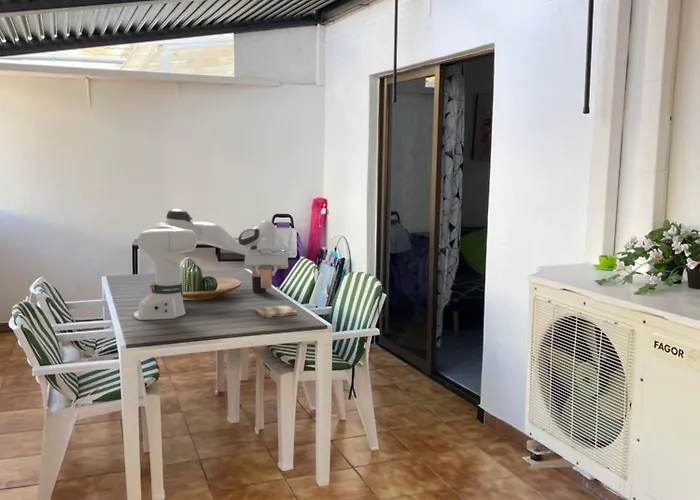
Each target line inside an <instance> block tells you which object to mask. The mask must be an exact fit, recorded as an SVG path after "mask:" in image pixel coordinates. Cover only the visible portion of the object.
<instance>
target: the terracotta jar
mask: <svg viewBox="0 0 700 500" xmlns="http://www.w3.org/2000/svg"><path fill="white" fill-rule="evenodd" d="M271 268H272V266H271V265H262V266H261V288H266V289H271V288H272V284H273V283H272V282H273V281H272V276H271V271H272V269H271Z"/></svg>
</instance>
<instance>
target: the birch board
mask: <svg viewBox="0 0 700 500" xmlns="http://www.w3.org/2000/svg"><path fill="white" fill-rule="evenodd" d="M255 312H256V313H257V314H258V315H259V316H260V315H261V316H260V317H262V318H263V317H267V318H273V317H272V316H278V317H284V316H283V315H290V316H296V315H295V314H297V315H298V311H297V310H296V309H294V308H292V307H291V306H290V305H278V306H277V305H276V306H268V307H267V306H266V307H256V308H255Z"/></svg>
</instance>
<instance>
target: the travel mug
mask: <svg viewBox="0 0 700 500" xmlns="http://www.w3.org/2000/svg"><path fill="white" fill-rule="evenodd" d="M259 271H261V269H259ZM251 283H252V285H251V286H252V292H253V294H254V293H256V294H262V293H267V288H261V276H258V273H257V271H256V269H251Z"/></svg>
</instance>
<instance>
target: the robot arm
mask: <svg viewBox="0 0 700 500" xmlns="http://www.w3.org/2000/svg"><path fill="white" fill-rule="evenodd" d="M165 217H166V221H165V222H164V221H159V222H155V223H154V224H153V225H152V226H151V228H150V229H147V230H144V231H141V232H140V233H139V235H138V237H137V242H136V243H137V246H138V249H139V250H140V251H141V252H142V254H145V255H146V256H147V257H148V258H149V259H150V261H151V262H152V264H153V266H154V273H155V274H154V275H155V283H150V284H149V289H150V290H151V292H150V293H149V294H148V295H147V296H145V297H144V298H143V299H141V300H140V302H139V305H138V306H139V307H138V310H137V311H135V312H134V313H133V317H134V319H136V320H138V321H139V320H140V321H145V320H146V321H147V320H172V319H176V318H178V317H181V316H184V315H186V313H187V312H186V309H185V306H184V299H183V293H184V290H183V288H184V287H183V282H182V267H181V265H180V264H179V263H178V262H176V261H174V260H171V259H169V258H168V256H167V255H168V254H184V253H188V252H193V251H194V250H195V249H196V247H197V244H198V243H199V244H202V245H203V244H204V245H208V246H212V247H216V248H219V249H222V250H225V251H228V252H231V253H235V254H238V255H241V256H244V264H243V266H244V268H245V269H246V270H252V269H256V271H257V273H258V276H261V271H259V269H261V266H262V265H271V266H272V268H271V277H275V275H276V273H277V271H278V269H279V270H282V269H285V270H286V269H288V268H289V259H288V258H289V257H290V254H289V252H288V250H287V251H286V250H277V243H276V241H277V229H276V225H275V224H274V223H273V222H271V221H268V220H262V221H260V222H259V223H258V224H257V225H256V226H255V227H253V228H248V229H244V230H243V231H242V232H240V234H239V237H238V239H236V238H234V237H233V236H232V235H231V234H229V232H227V231H226V229H225V228H223V226H222V225H219V224H217V223H215V222H210V221H209V222H208V221H192V220H193V217H192V216H191V215H190V214H189V213H188V211H186V210H184V209H181V208H173V209H170V210H168V211H167V214H166V216H165ZM272 269H273V270H272Z"/></svg>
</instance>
